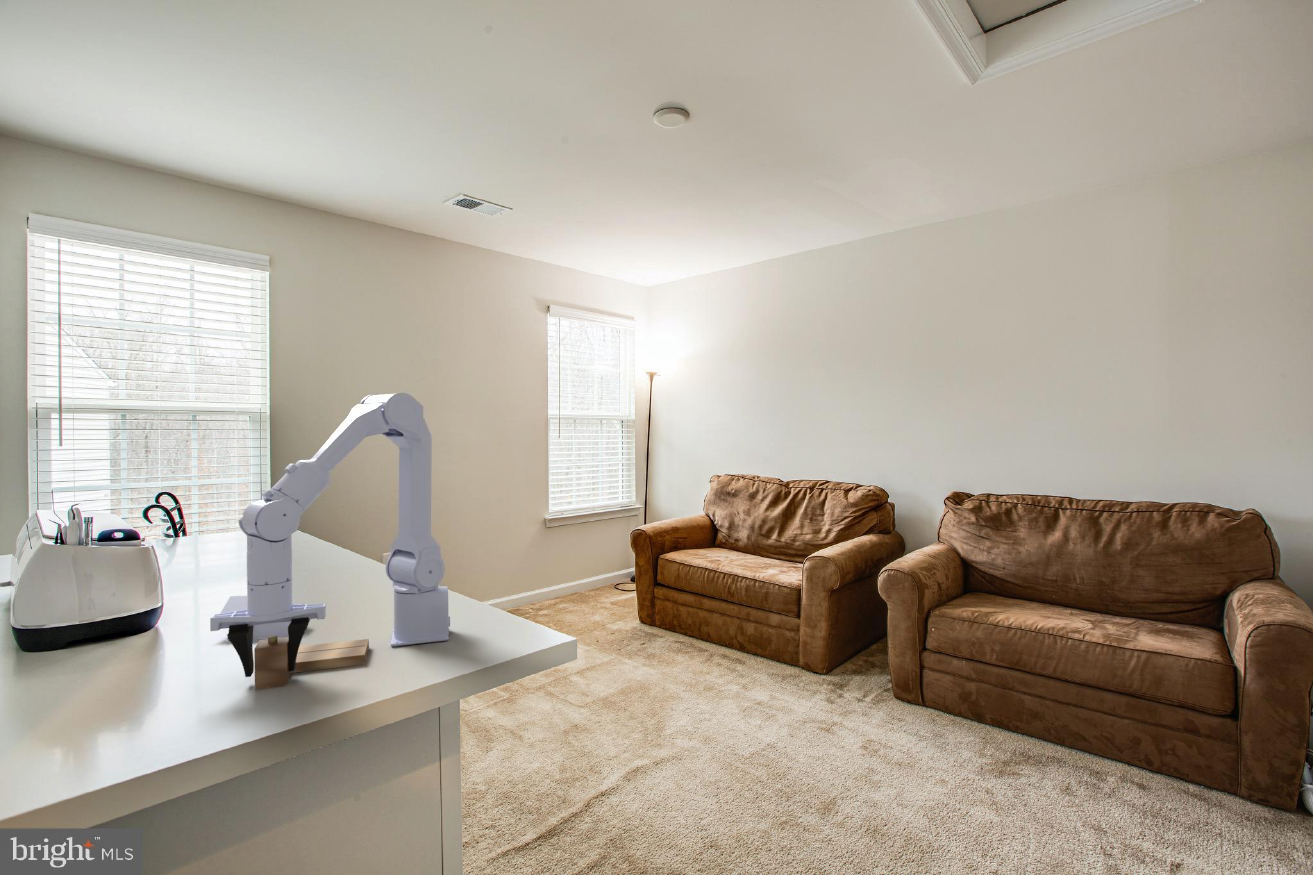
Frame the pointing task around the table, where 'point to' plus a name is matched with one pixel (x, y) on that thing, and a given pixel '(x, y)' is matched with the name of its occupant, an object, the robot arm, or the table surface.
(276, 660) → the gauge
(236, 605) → the wedge on round base
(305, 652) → the board
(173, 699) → the table surface
